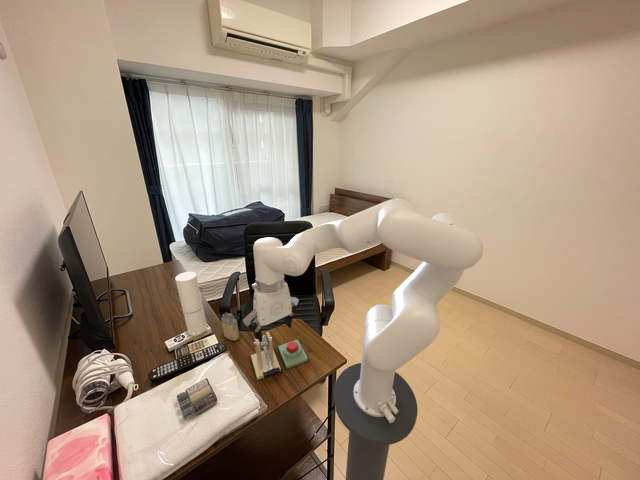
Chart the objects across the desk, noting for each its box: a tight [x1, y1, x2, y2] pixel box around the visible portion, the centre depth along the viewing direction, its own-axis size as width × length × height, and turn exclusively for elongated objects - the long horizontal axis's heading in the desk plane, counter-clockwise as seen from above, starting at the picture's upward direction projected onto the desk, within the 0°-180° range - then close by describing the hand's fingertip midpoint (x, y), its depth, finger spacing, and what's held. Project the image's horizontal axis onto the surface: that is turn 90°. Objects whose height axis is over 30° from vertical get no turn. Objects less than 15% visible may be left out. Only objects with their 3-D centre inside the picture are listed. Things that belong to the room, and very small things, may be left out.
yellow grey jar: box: [221, 312, 240, 342], centre depth 98 cm, size 7×4×10 cm, turn 61°
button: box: [287, 341, 297, 353], centre depth 90 cm, size 4×4×2 cm
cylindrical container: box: [174, 271, 208, 336], centre depth 99 cm, size 7×7×25 cm
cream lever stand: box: [250, 331, 282, 381], centre depth 85 cm, size 10×8×12 cm
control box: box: [277, 339, 309, 369], centre depth 91 cm, size 10×8×3 cm
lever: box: [259, 335, 281, 379], centre depth 81 cm, size 12×5×2 cm, turn 26°
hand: (274, 331), depth 75 cm, fingers open, 9 cm apart
